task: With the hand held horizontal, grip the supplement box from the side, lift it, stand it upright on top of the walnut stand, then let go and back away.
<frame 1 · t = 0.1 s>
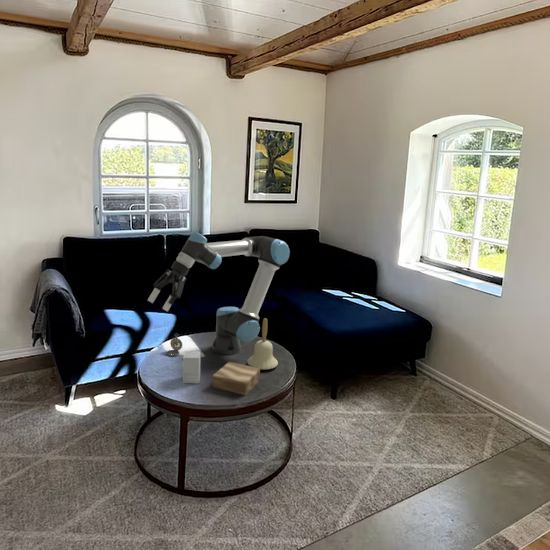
hand: (157, 305, 215), 36 cm above the table, tool tilted 35°, fingers open, 13 cm apart
handbell: (262, 366, 247), on the table
pocket watch: (174, 353, 255), on the table
walnut stand: (236, 383, 226), on the table
supplement box: (191, 380, 227), on the table
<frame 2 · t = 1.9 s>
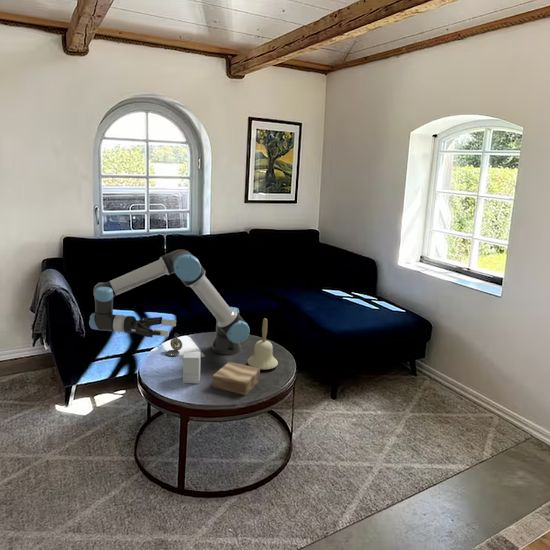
hand: (172, 328, 221), 24 cm above the table, tool horizontal, fingers open, 13 cm apart
nothing on the table moved.
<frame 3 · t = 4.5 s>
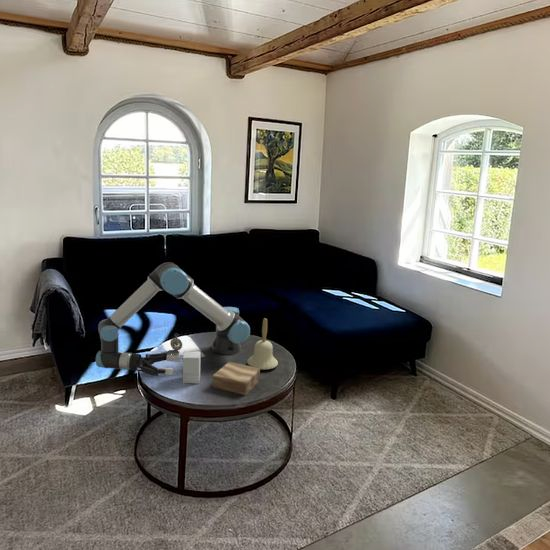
hand: (176, 365, 225), 7 cm above the table, tool horizontal, fingers open, 13 cm apart
nothing on the table moved.
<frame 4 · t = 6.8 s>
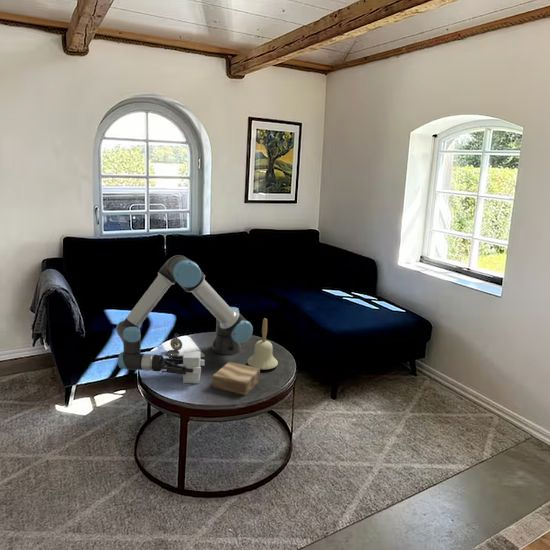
hand: (202, 366, 225), 7 cm above the table, tool horizontal, fingers closed on supplement box, 8 cm apart
supplement box: (191, 380, 227), on the table, touching gripper
everything else where it was.
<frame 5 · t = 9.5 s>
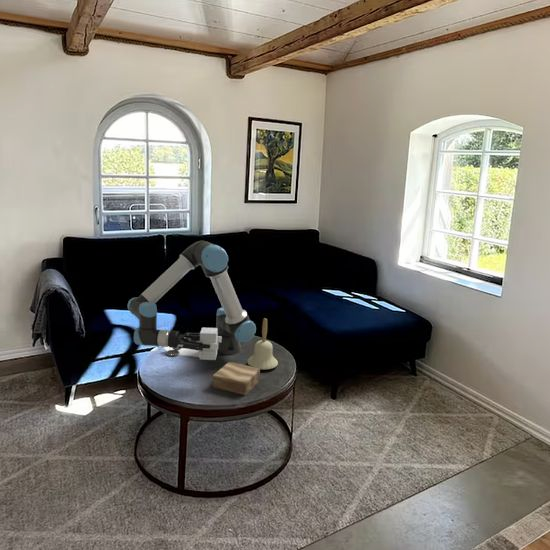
hand: (219, 342, 220), 20 cm above the table, tool horizontal, fingers closed on supplement box, 8 cm apart
supplement box: (208, 357, 222), point 13 cm above the table, touching gripper
everything else where it was.
when the fingers open (14 cm above the table, at t = 12.0 s): supplement box drops 1 cm, resting on walnut stand.
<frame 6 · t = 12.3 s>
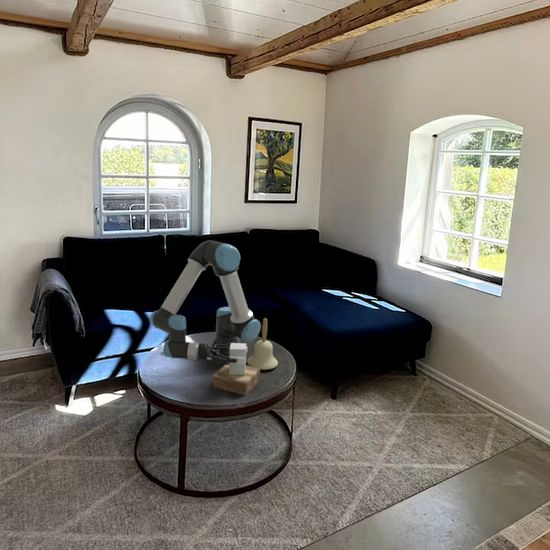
hand: (246, 355, 222), 14 cm above the table, tool horizontal, fingers open, 12 cm apart
supplement box: (237, 372, 224), point 6 cm above the table, touching walnut stand
everything else where it was.
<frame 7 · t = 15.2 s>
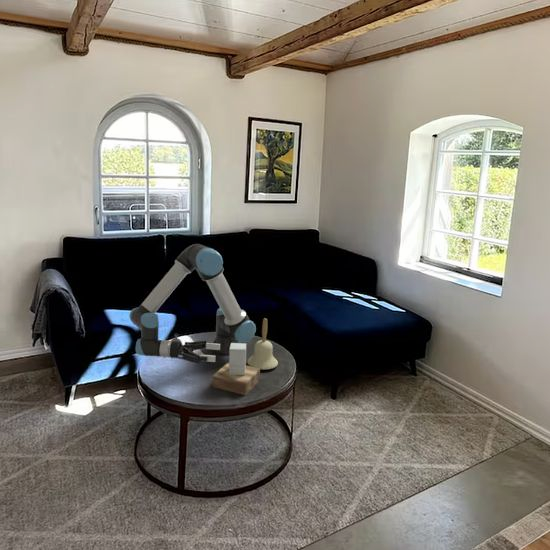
hand: (217, 352, 222), 15 cm above the table, tool horizontal, fingers open, 13 cm apart
nothing on the table moved.
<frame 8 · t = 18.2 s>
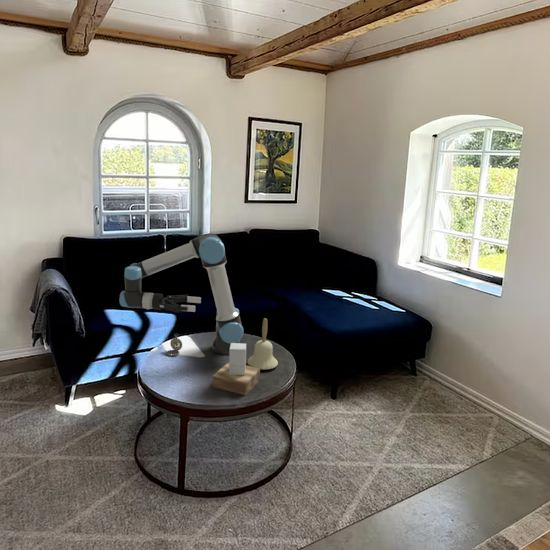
hand: (198, 304, 233), 32 cm above the table, tool horizontal, fingers open, 13 cm apart
nothing on the table moved.
at the end: supplement box inside the target area on the walnut stand (0.1 cm from its centre), point 5.8 cm above the walnut stand's base; supplement box tilted 0°; the gripper is holding nothing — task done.
